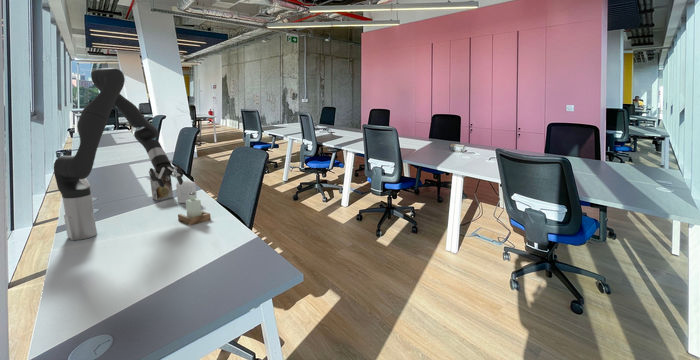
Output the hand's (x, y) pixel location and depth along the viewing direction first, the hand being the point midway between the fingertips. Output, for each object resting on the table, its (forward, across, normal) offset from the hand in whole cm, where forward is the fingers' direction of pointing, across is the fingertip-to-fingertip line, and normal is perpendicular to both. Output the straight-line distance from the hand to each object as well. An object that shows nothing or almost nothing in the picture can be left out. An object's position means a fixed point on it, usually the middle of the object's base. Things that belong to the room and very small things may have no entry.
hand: (172, 185), depth 171 cm
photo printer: (-2, +16, +23) cm, 28 cm away
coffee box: (-16, +12, +37) cm, 42 cm away
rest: (+20, +3, +2) cm, 20 cm away
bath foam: (-24, -22, +46) cm, 57 cm away
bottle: (+20, +3, +1) cm, 20 cm away
